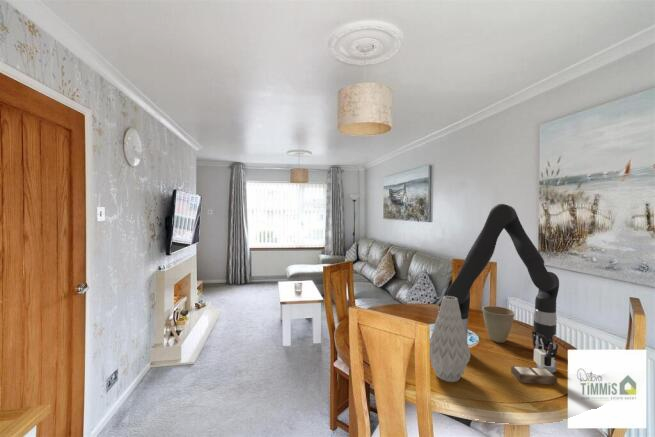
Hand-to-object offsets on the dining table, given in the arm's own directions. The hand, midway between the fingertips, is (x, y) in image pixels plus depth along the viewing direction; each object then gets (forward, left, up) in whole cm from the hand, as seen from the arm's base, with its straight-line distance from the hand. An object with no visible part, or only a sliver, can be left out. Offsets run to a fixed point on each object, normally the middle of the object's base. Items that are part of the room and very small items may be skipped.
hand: (543, 362), depth 126 cm
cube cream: (0, 0, -1) cm, 1 cm away
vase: (-39, -3, -7) cm, 39 cm away
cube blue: (+6, +9, -7) cm, 13 cm away
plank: (-4, 0, -7) cm, 8 cm away
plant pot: (-2, +38, -7) cm, 39 cm away
